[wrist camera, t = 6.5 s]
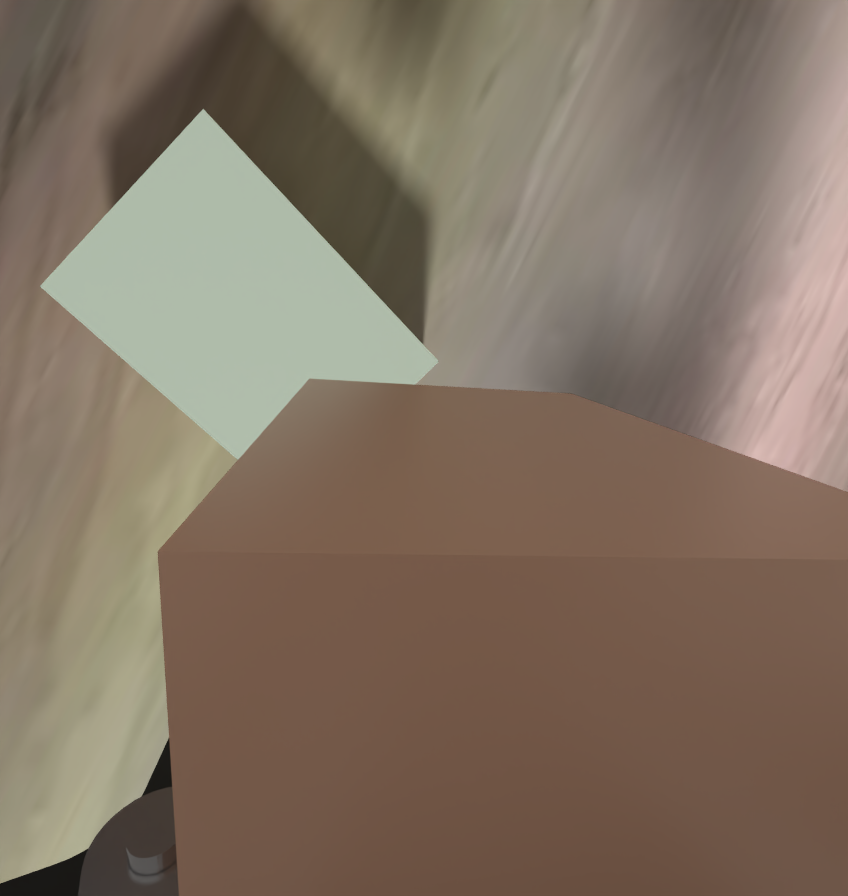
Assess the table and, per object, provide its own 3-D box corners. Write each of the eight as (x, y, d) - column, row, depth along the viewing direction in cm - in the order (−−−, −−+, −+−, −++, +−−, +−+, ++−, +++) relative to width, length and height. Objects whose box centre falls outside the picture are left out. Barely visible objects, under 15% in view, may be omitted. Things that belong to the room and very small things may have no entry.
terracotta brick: (571, 394, 10) (1044, 561, 3) (512, 803, 12) (701, 1405, 5) (309, 379, 9) (158, 550, 2) (301, 814, 11) (217, 1517, 5)
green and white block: (422, 354, 30) (438, 361, 24) (306, 468, 31) (290, 506, 24) (244, 164, 27) (203, 108, 20) (119, 297, 28) (40, 286, 21)
